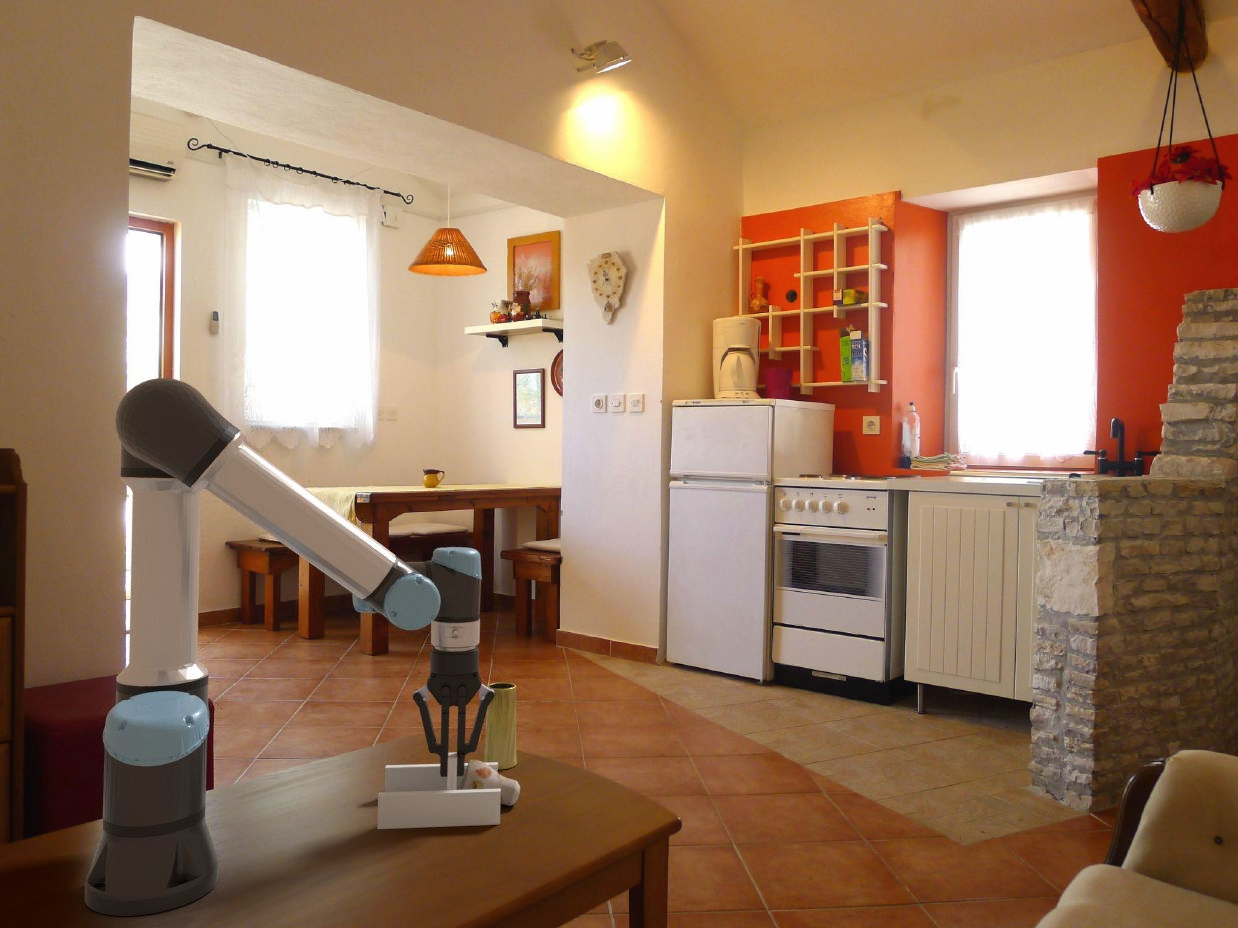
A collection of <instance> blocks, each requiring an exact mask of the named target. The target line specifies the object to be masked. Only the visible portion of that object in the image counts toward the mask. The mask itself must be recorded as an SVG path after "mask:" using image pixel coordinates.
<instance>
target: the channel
mask: <svg viewBox="0 0 1238 928" xmlns="http://www.w3.org/2000/svg"><path fill="white" fill-rule="evenodd" d="M468 763H469V762H465V763H464V774H465V771H466V768H467V765H468ZM485 764H487V765H488V766H490V767H491V768H492V769H494V770H495V771H496V772H497V773H499V772H498V762H489V763H485ZM384 772H385V773H384V775H385V776H384V778H385V779H384V791H383V792H378V795H377V827H376V828H377V830H389V829H390V830H391V829H393V830H394V829H417V828H419V829H420V828H438V827H439V828H442V827H445V828H447V827H467V826H491V825H493V826H494V825H501V804H500V799H501V790H500V789H473V790H460V788H461V784H462V781H463V778H464V775H463V776H457V784H456V790H447V777H441V775H440V763H429V764H428V763H425V764H423V763H422V764H419V763H418V764H388V765H387V764H386V765H385V770H384Z"/></svg>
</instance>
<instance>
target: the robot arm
mask: <svg viewBox="0 0 1238 928" xmlns="http://www.w3.org/2000/svg"><path fill="white" fill-rule="evenodd" d="M114 421H115V422H114V423H115V430H116V434H117V436H118V439H119V442H120V480H121V481H122V482H123V483H124V484H125V485H126V486H127V487H128V488H129V489H130V490H131V492H132V504H131V505H132V506H131V507H132V508H131V509H132V510H131V511H132V512H131V514H132V515H131V551H130V553H131V555H130V556H131V557H130V559H131V560H130V600H129V601H130V602H129V603H130V605H129V607H130V608H129V609H130V610H129V611H130V612H129V650H128V651H129V654H128V657H129V659H128V664H127V666H126V667H124V669H122V671H120V672H119V674H118V675H116V681H115V688H116V689H115V705H114V706H113V707H112V708H111V709H110V710H109V712H108V713H107V715H106V718H105V726H104V728H103V732H102V742H103V746H104V757H103V759H104V761H103V762H104V763H103V764H104V765H103V768H104V769H103V798H102V801H103V804H102V833H101V837H100V840H99V842H98V845H97V847H96V850H95V854H94V856H93V859H92V861H91V865H90V867H89V869H88V873H87V875H86V877H85V881H84V904H86V906H87V907H88V908H89V909H91V911H94V912H96V913H99V914H104V915H110V916H117V917H118V916H120V917H125V916H126V917H129V916H130V917H131V916H143V915H150V914H157V913H160V912H161V913H162V912H166V911H170V910H173V909H177V908H179V907H182V906H186V905H188V904H190V903H192V902H195V901H197V900H199V899H201V898H202V897H204V896H205V895H208V893H209V892H211V891H212V890H213V889H214V888H215V887H216V885H217V884H218V882H219V877H220V875H219V874H220V873H219V872H220V860H219V857H218V854H217V851H216V848H215V845H214V841H213V839H212V836H211V833H210V831H209V827H208V824H207V821H206V820H207V819H206V807H207V806H206V804H207V802H206V801H207V766H208V764H207V759H208V734H209V731H210V710H209V669H208V668H207V667H206V666H205V665H203V663H201V662H200V661H199V659H198V648H199V647H198V644H199V643H198V642H199V641H198V640H199V639H198V638H199V634H198V633H199V598H200V597H199V595H200V594H199V592H200V551H201V550H200V549H201V548H200V546H201V545H200V544H201V507H202V506H201V504H202V503H201V500H202V498H201V497H202V494H201V493H202V491H203V490H206V491H208V492H209V493H211V494H212V495H213V496H215V497H216V498H218V499H219V500H221V501H222V502H224V503H225V504H226V505H228V506H229V507H230V508H232V509H233V510H235V511H236V512H237V513H239V514H240V515H242V516H243V517H244V518H246V519H247V520H248V521H250V522H251V523H253V524H254V525H256V526H257V527H258V528H260V529H261V530H263V531H264V532H266V534H269V535H270V536H272V537H273V538H274V539H276V541H278V542H280V543H281V544H283V546H286V547H287V548H288V549H289V550H291V551H292V552H294V553H295V554H296V555H299V556H300V557H301V558H302V559H304V560H305V561H306V562H308V563H309V564H311V565H312V566H314V567H315V568H317V569H318V570H319V571H321V572H322V573H324V574H325V575H327V576H328V577H329V578H331V579H332V580H333V581H335V582H337V583H338V584H339V585H341V587H343V588H344V589H346V590H348V592H350V593H351V594H352V595H351V596H352V604H353V608H354V610H355V611H356V612H358V613H371V614H372V615H373V614H374V615H375V614H377V613H379V614H381V615H383V616H384V617H385V618H386V619H387V620H388V621H389V622H390V623H391V624H392V625H394V626H395V627H396V628H399V629H403V630H406V631H417V630H421V629H424V628H426V627H427V626H428V625H430V629H431V630H430V632H431V633H430V644H431V645H433V647H432V649H430V662H429V663H430V667H429V668H430V669H429V670H430V671H429V677H428V678H427V680H426V685H424V686H423V687H421V688H418V689H415V690H414V691H413V693H412V694H413V695H412V699H413V701H414V703H415V704H416V706H417V707H418V708H419V714H420V717H421V722H422V726H423V731H424V735H425V740H426V744H427V748H428V752H429V753H430V754H435V755H438V756H439V764H440V775H441V777H447V790H456V784H457V776H463V775H464V763H466V762H465V760H466V759H465V758H466V756H467V755H468V754H470V753H474V752H476V751H477V749H478V744H479V741H480V736H481V734H482V730H483V726H484V722H485V719H486V712H487V708H488V706H489V704H490V703H491V701H492V700H493V698H494V697H495V694H494V690H493V689H492V688H488V687H487V686H486V685H484V684H483V683H482V682H483V681H482V678H481V676H480V674H479V673H480V672H479V671H480V670H479V669H480V649H479V647H478V645H479V644H480V635H481V634H480V633H481V632H480V631H481V628H480V627H481V619H480V617H481V616H480V611H481V591H482V589H481V588H482V580H483V577H482V565H481V564H482V563H481V554H480V552H479V551H478V550H477V549H475V548H472V547H461V546H458V547H456V546H450V547H449V546H448V547H437V548H435V549H434V551H433V552H432V553H433V554H432V557H431V560H426V561H406V562H405V561H404V560H403V559H400V557H398V556H396V555H395V554H394V553H393V552H391V551H390V550H389V549H388V548H386V547H385V546H384V545H383V544H381V543H380V542H378V541H377V540H376V539H374V538H373V537H371V536H370V535H369V534H368V533H366V532H365V531H363V530H362V529H361V528H359V527H358V526H357V525H356V524H354V523H353V522H351V521H350V520H348V519H347V518H346V517H345V516H343V515H342V514H341V513H339V512H337V511H336V509H334V508H332V507H331V506H329V505H328V504H327V503H326V502H325V501H323V500H322V499H320V497H318V496H317V495H315V494H314V493H312V492H311V491H309V490H308V489H307V488H306V487H304V486H303V485H301V484H300V483H299V482H298V481H296V480H295V479H294V478H292V477H291V476H289V474H286V472H284V471H283V470H281V469H280V468H279V467H277V465H274V464H273V463H272V462H270V460H269V459H266V458H265V457H264V456H262V455H261V454H260V453H258V451H256V450H254V449H253V448H252V447H250V446H249V445H248V444H246V443H245V440H244V434H243V431H242V430H241V429H239V428H238V427H236V426H235V425H233V424H232V423H231V422H230V421H229V420H228V419H227V418H225V417H224V416H223V415H222V414H221V413H220V412H219V411H218V410H217V409H215V408H214V407H213V405H212V404H210V402H209V401H208V400H207V399H206V397H205V396H204V394H202V393H201V392H200V391H199V390H198V389H196V388H195V387H194V386H192V385H191V384H189V383H187V382H184V381H183V380H182V381H181V380H179V379H175V378H170V377H169V378H167V377H159V378H151V379H147V380H145V381H143V382H140V383H139V384H136V385H135V386H134V387H132V388H130V390H128V391H127V392H126V393H125V395H124V396H123V397H122V399H121V400H120V402H119V403H118V406H117V409H116V413H115V420H114ZM478 692H479V694H478V699H479V700H480V701H479V704H478V707H477V711H476V714H475V719H474V722H473V726H472V730H471V732H470V733H471V734H470V737H469V741H468V742H466V721H467V720H466V719H467V718H466V717H467V716H466V715H467V714H466V713H467V706H468V705H469V704H470V703H471V701H472V699H473V698H474V697H475V696H476V694H477V693H478ZM429 693H430V694H431V695H432V697H433V698H434V699H435V700H436V702H437V703H438V705H440V706H441V708H440V709H441V714H440V715H441V717H440V718H441V720H440V743H437V737H436V733H435V730H434V725H433V720H432V716H431V711H430V707H429V703H428V701H429V698H430V696H429ZM450 707H451V708H452V707H458V708H457V734H456V737H457V740H456V743H457V744H456V752H453V751H452V752H449V748H450V746H449V745H450V744H449V743H450V742H449V741H450Z"/></svg>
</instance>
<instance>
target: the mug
mask: <svg viewBox="0 0 1238 928" xmlns="http://www.w3.org/2000/svg"><path fill="white" fill-rule="evenodd" d="M467 763H468V765H467V768H466V771H465V774H464V778H463V781H462V784H461V788H460V790H473V789H500V790H501V799H500V805H504V806H508V807H511V806H512V805H514V804H516V802H517V801H518V798H519V796H520V793H521V792H520V791H521V786H520V784H519V782H518V781H517V780H516V779H512V778H508V777H506V776H503V775H501V774H500V773H499V772H498V773H497V772H496V771H495V770H494V769H492V768H491V767H490V766H488V765H487V764H485V763H484V762H483V761H481V760H479V759H469V760H468V762H467Z"/></svg>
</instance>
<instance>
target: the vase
mask: <svg viewBox="0 0 1238 928" xmlns="http://www.w3.org/2000/svg"><path fill="white" fill-rule="evenodd" d="M486 687H488V688H492V689H493V690H494V694H495V697H494V698H493V700H492V701H491V703H490V704H489V706H488V708H487V712H486V715H485V719H486V720H485V721H486V722H485V739H484V749H483V750H484V753H483V761H482V762H484V763H489V762H498V770H508V769H512V768H514V767H515V766H516V765H517V764H518V759H517V685H516V684H515V683H512V682H504V681H502V682H501V681H500V682H491V683H489V684H488V685H487V686H486Z"/></svg>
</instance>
